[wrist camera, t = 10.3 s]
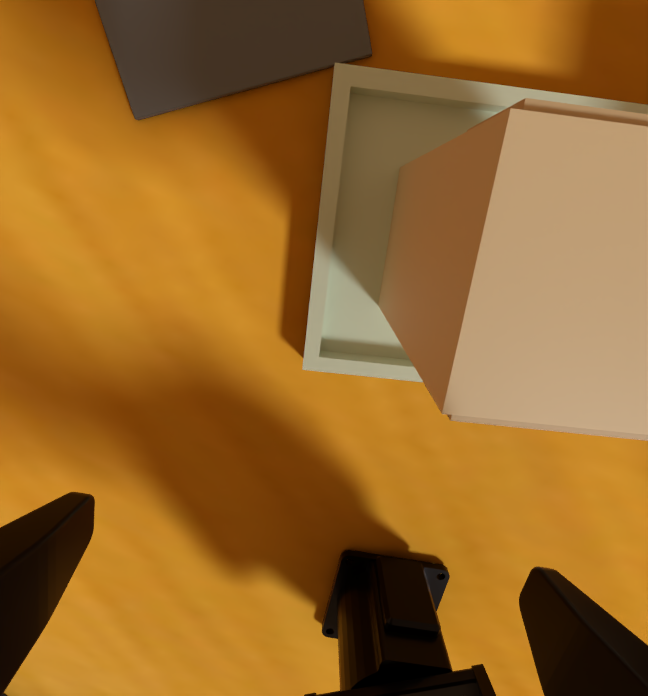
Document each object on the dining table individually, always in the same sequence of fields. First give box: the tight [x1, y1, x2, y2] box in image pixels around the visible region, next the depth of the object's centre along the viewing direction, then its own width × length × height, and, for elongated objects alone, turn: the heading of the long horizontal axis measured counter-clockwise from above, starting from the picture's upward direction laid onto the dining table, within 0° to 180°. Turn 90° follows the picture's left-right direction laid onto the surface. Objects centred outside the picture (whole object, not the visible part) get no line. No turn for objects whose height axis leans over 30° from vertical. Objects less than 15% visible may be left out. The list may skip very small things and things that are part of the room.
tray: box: [302, 63, 648, 382], centre depth 19 cm, size 12×12×2 cm
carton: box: [378, 98, 648, 441], centre depth 14 cm, size 6×6×11 cm
